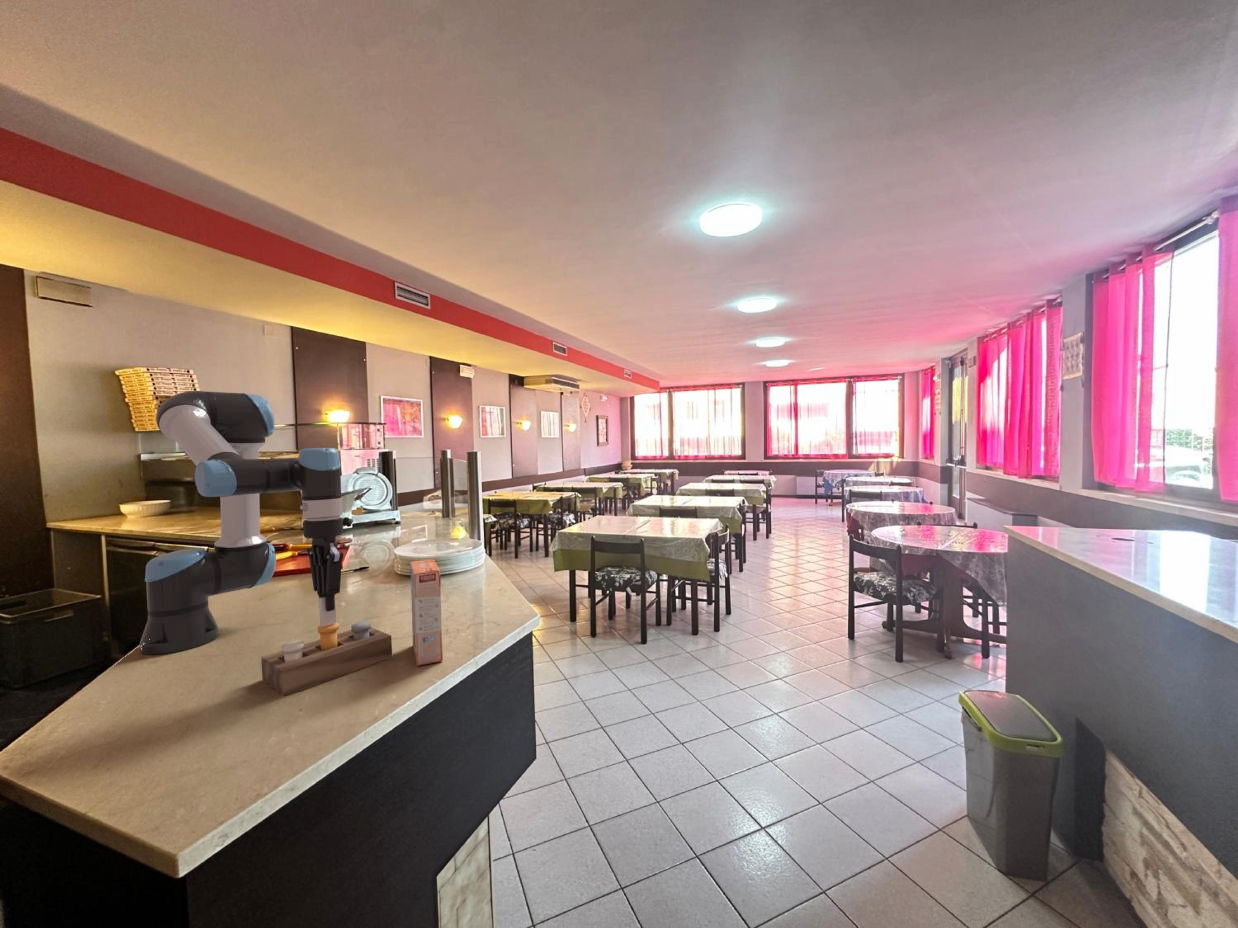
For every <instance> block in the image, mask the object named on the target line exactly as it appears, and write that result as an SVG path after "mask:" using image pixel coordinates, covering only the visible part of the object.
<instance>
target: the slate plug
mask: <svg viewBox="0 0 1238 928" xmlns="http://www.w3.org/2000/svg"><path fill="white" fill-rule="evenodd" d="M371 627H372V624H371V622H370V621H361V622H356V623H353V624H352V625H351V629H350V630H351V631H352V632H353V633H354V640H355V641H357V640H360V639H363V638H367V637H369V629H370V628H371Z"/></svg>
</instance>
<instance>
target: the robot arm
mask: <svg viewBox="0 0 1238 928" xmlns="http://www.w3.org/2000/svg"><path fill="white" fill-rule="evenodd" d="M158 407H159V408H158V409H157V411H156V414H155V422H156V426H157V428H158V429H159V431H160V432H161V433H162V435H164V436H165V437H166V438H167V439H169V440H171V441H173V442H176V443H177V444H178V446H180V449H182V451H184V453H185V454H186V455H187V456H188V458H189V459H190V460H191V461H192V462H193V464H194V465H195V466H196V467H195V471H194V482H195V486H196V489H197V492H198V493H199V494H200V495H201V496H202V497H205V498H214V497H220V499H219V500H220V532H221V533H220V537H219V538H218V539H217V540H216V541H215V542H214V543H213V544H214V545H213V549H214V550H213V551H207V550H206V549H205V548H204V547H193V548H185V549H179V550H176V551H171V552H168V553H165V554H161V555H158V556H155V557H153V558H151V559H150V560H149V561H148V562H147V563H146V565H145V575H144V577H145V578H144V582H145V586H146V587H145V589H146V600H147V601H146V603H147V606H146V607H147V622H146V624H145V627H144V630H143V633H142V635H141V638H140V642H139V650H140V649H141V648H142V650H141V651H140V653H141V654H143V655H162V654H170V653H175V652H180V651H185V650H189V649H192V648H196V647H199V646H203V645H206V644H208V643H210V642H213V641H214V640H215V639H217V638H218V637H219V635H220V633H219V631H220V630H219V625H218V623H217V620H216V619H215V617H214V615H213V614H212V611H211V609H210V607H209V597H211V596H216V595H217V596H218V595H222V594H226V593H230V592H235V591H240V590H245V589H247V590H248V589H253V588H254V587H258V586H262V585H265V584H267V583H269V582H270V580H271V579H272V577H273V576H274V573H275V570H276V567H277V566H276V565H277V554H276V550H275V547H274V545H273V544H272V543H270V542H269V543H268V541H267V537H265V536H264V535H262V534H261V523H260V522H261V513H260V510H261V509H260V508H261V507H260V494H268V493H270V494H271V493H283V492H294V491H295V492H298V491H301V503H302V504H301V505H300V506H299V509H300V510H302V518H303V519H305V520H304V521H303V522H302V529H303V530H302V531H303V537H304V538H305V539H312V541H311V547H308V548H306V552H307V556H308V560H309V565H310V573H311V580H312V585H313V586H312V587H313V591H314V592H316V594H317V596H318V604H319V605H318V606H319V607H318V608H319V622H320V623H319V626H322V627H325V626H328V625H332V624H336V622H337V611H336V608H337V607H336V595H337V594H340V592H341V582H342V581H341V578H342V562H343V558H344V551H342V550H341V551H338V550H339V547H338V546H339V545H338V543H337V539H336V538H337V536H341V535H343V534H344V519H343V518H342V517H340V516H342V515H343V513H344V512H343V511H344V510H343V497H342V476H341V475H342V473H341V466H342V464H341V461H340V452H339V451H338V449H337V448H335V447H334V448H333V447H313V448H303V449H301V450H300V452H299V457H283V458H281V457H280V458H260V453H259V452H260V451H259V450H260V448H262V447H263V446H264V445H265V444H266V438H268V437H271V436H272V435H273V434H274V429H275V417H274V413H273V409H272V407H271V405H270V404H269V402H268V400H267V399H266V398H265V397H263V396H261V395H258V394H252V393H250V394H249V393H245V392H242V393H241V392H240V393H239V392H225V391H224V392H223V391H222V392H221V391H204V390H189V391H184V392H180V393H177V394H174V395H172V396H170V397H169V398H167V399H166V400H165V401H164V402H162V404H160V405H159V406H158ZM149 639H150V640H149ZM143 643H145V644H144V645H143ZM141 645H142V647H141V648H140V646H141Z"/></svg>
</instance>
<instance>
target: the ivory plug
mask: <svg viewBox="0 0 1238 928" xmlns="http://www.w3.org/2000/svg"><path fill="white" fill-rule="evenodd" d="M304 644H305V641H304V640H293V641H290V642H287V643H284V644H283V645H281V651H282V653H284V661H285V663H287V662H291V661H294V660H297V659H300V658H303V655H302V649H303V648H304Z"/></svg>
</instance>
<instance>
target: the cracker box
mask: <svg viewBox="0 0 1238 928" xmlns="http://www.w3.org/2000/svg"><path fill="white" fill-rule="evenodd" d="M409 564H410V565H409V566H410V567H409V568H410V570H409V571H410V594H411V595H410V596H411V622H412V623H411V624H412V625H411V627H412V628H411V630H412V631H411V632H412V647H413V648H412V649H413V653H414V658H415V659H414V660H415V664H416V666H417V667H419V666H424V665H428V664H434V663H439V662H443V660H444V659H443V658H444V657H443V653H444V652H443V627H442V624H443V623H442V620H443V619H442V598H441V596H442V595H441V594H442V590H441V587H442V586H441V581H442V580H441V570H440V568H439V566H438V565H437V563H436V561H435V559H433V558H431V559H429V558H428V559H421V560H414V561H413V560H412V561H410V563H409Z"/></svg>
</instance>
